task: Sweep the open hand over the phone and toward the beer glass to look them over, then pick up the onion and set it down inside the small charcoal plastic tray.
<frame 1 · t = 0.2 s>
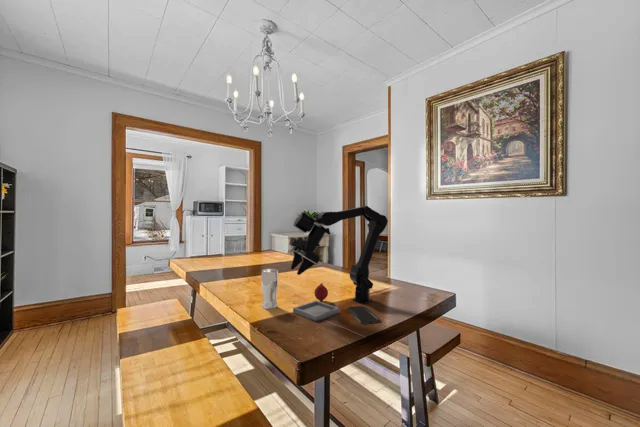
hand: (294, 271, 113), 15 cm above the table, tool tilted 30°, fingers open, 9 cm apart
tray: (316, 312, 108), on the table
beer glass: (269, 307, 114), on the table
phone: (362, 316, 106), on the table
onion: (321, 301, 122), on the table
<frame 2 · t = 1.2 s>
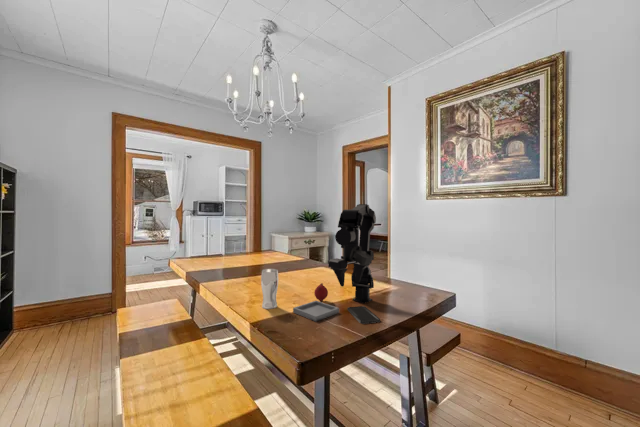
hand: (350, 284, 105), 12 cm above the table, tool pointing down, fingers open, 9 cm apart
nothing on the table moved.
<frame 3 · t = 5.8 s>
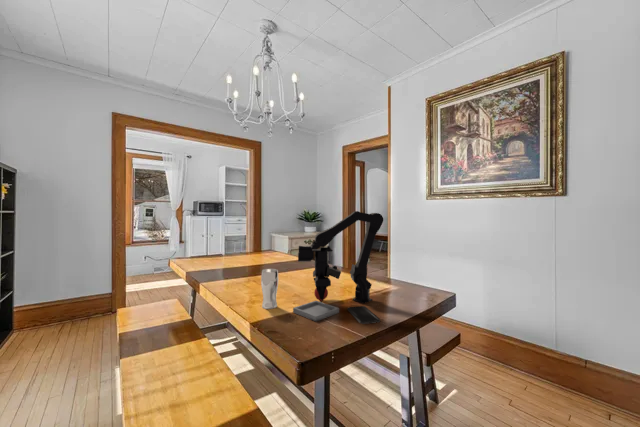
hand: (321, 297, 122), 2 cm above the table, tool pointing down, fingers closed on onion, 6 cm apart
onion: (321, 301, 122), on the table, touching gripper
everything else where it was.
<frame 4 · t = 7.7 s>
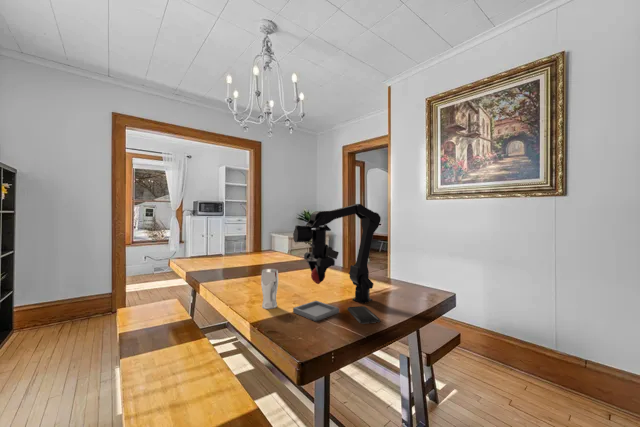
hand: (318, 279, 115), 11 cm above the table, tool pointing down, fingers closed on onion, 6 cm apart
onion: (317, 284, 115), point 9 cm above the table, touching gripper
everything else where it was.
when the fingers open (4 cm above the table, at t = 9.9 s): onion drops 1 cm, resting on tray.
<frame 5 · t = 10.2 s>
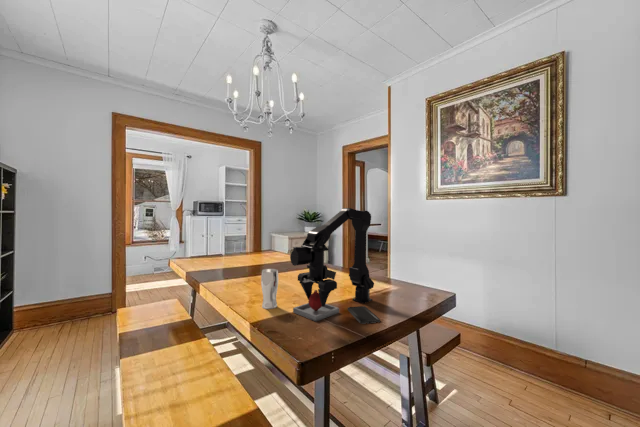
hand: (316, 302, 108), 4 cm above the table, tool pointing down, fingers open, 9 cm apart
onion: (316, 311, 108), resting on tray
everything else where it was.
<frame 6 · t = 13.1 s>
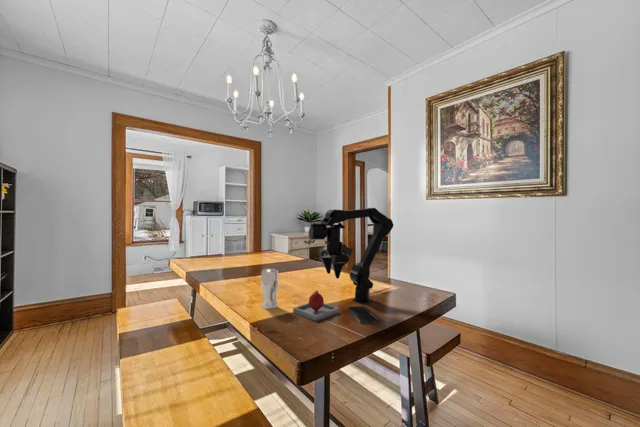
hand: (333, 275, 118), 12 cm above the table, tool pointing down, fingers open, 9 cm apart
nothing on the table moved.
at the end: onion 0.0 cm off-centre on the tray, point 0.4 cm above the tray's base; the gripper is holding nothing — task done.
